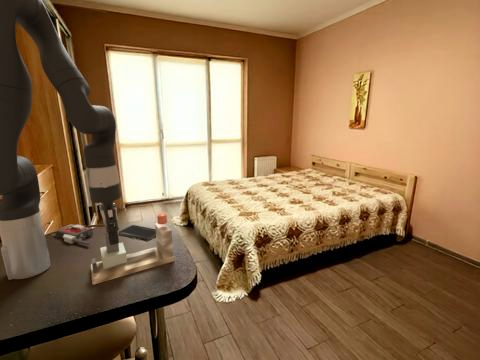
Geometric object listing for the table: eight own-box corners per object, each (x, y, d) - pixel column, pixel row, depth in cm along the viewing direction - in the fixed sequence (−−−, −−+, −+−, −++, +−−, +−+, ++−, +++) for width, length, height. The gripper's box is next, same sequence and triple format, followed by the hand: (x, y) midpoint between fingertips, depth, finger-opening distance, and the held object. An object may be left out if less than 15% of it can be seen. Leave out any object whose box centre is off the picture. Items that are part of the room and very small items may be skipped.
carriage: (103, 268, 69) (99, 241, 67) (101, 257, 75) (97, 231, 73) (127, 262, 72) (124, 236, 71) (123, 251, 78) (120, 227, 76)
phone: (148, 239, 92) (117, 232, 97) (148, 242, 92) (117, 235, 98) (162, 230, 99) (132, 224, 105) (162, 233, 99) (133, 227, 105)
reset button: (159, 225, 77) (158, 217, 77) (156, 222, 80) (156, 214, 79) (168, 223, 79) (167, 215, 78) (165, 220, 81) (165, 213, 81)
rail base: (92, 284, 68) (87, 250, 65) (91, 268, 75) (86, 237, 73) (174, 260, 79) (172, 230, 77) (166, 248, 86) (163, 221, 84)
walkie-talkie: (49, 239, 95) (86, 249, 87) (47, 228, 94) (84, 237, 86) (72, 229, 103) (108, 238, 95) (70, 219, 102) (107, 227, 94)
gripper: (87, 179, 73) (96, 232, 76) (88, 190, 61) (99, 252, 65) (115, 175, 76) (123, 226, 80) (123, 185, 65) (131, 244, 68)
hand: (112, 237), depth 72 cm, fingers open, 8 cm apart
